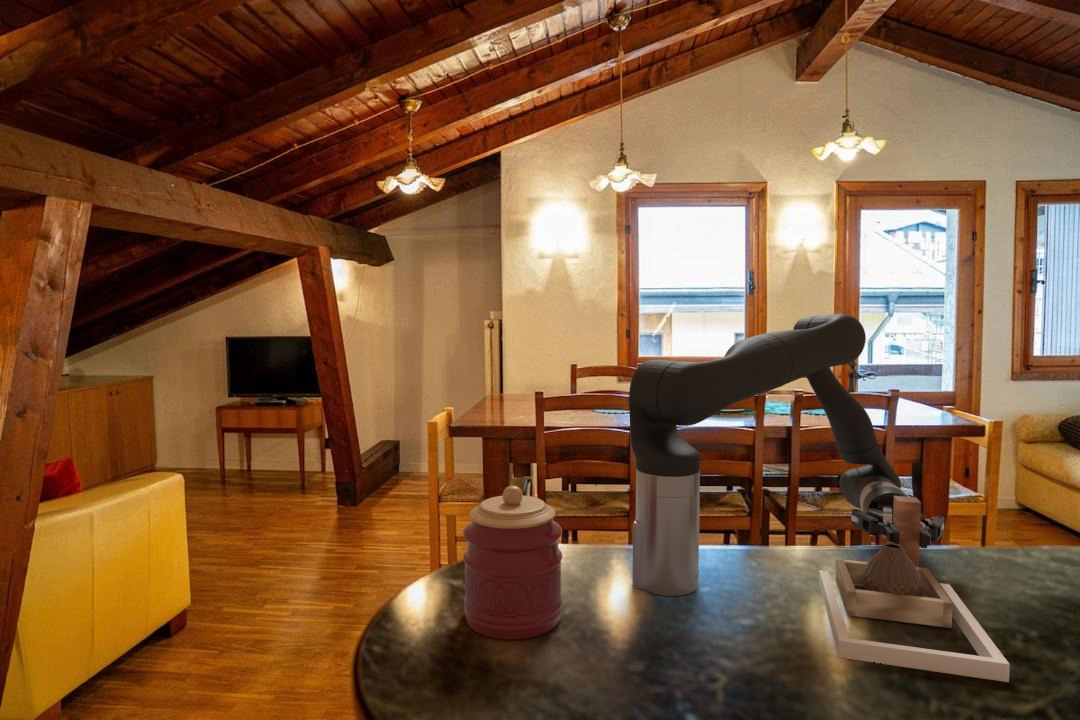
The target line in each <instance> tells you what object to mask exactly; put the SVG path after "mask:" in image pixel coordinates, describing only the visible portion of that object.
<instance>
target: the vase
mask: <svg viewBox="0 0 1080 720" xmlns="http://www.w3.org/2000/svg"><path fill="white" fill-rule="evenodd" d="M867 562H868V563H867V565H866V567H865V571H864V575H863V585H862V586H863V588H864V589H863V590H867V591H876V592H884V593H892V594H900V595H911V596H919V597H922V593H921V589H922V585H921V579H920V575H919V572H918V570H917V568H916V567H915V565H914V564H913V562H912V561H911V560H910V559H909V557H908V556H907V554H906V553H905V550H904V548H903V547H902V546H901V545H899V544H895V543H892V542H885V543H883V544H881V547H880V549H879V550H877V552H876V553H875V554H874V555H873V556H871V558H870V559H869V560H868V561H867Z"/></svg>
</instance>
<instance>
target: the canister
mask: <svg viewBox="0 0 1080 720" xmlns="http://www.w3.org/2000/svg"><path fill="white" fill-rule="evenodd" d="M556 513H557V512H556V510H555V508H553V507H552V506H551V505H549V504H547V503H545V501H544V500H542V499H540V498H538V497H536V496H532V495H531V496H529V495H524V494H523V491H522V489H521V488H520V487H518V486H517V485H509V486H507V487H506V488H504V490H503V493H502V495H498V496H492V497H490V498H486V499H484V500H483V501H481V502H480V504H478V505H477V506H475V507H474V508H472V509H471V510H470V511H469V518H470V520H471V521H470V522H469V523H468V524H467V525H466V526H465V527H464V528H463V531H462V535H463V538H464V539H465V541H466V543H467V544H466V546H467V547H466V550H465V552H464V553H463V559H462V560H463V562H464V599H463V612H464V616H465V621H466V624H467V625H468V626H469V628H470V629H472V630H473V631H474V632H476V633H477V634H480V635H483V636H485V637H488V638H491V639H492V638H493V639H500V640H523V639H528V638H533V637H537V636H540V635H543V634H546V633H548V632H550V631H551V630H552V629H554V628H555V627H556V626H557V625H558V623H559V622H560V620H561V613H562V611H563V610H562V609H563V597H562V579H561V578H562V559H563V552H562V551H561V549H560V548H559V539H560V538H561V536H562V534H563V529H562V527H561V526H560V524H559V523H558V522H556V521H554V519H555V517H556Z"/></svg>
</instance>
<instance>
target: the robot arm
mask: <svg viewBox="0 0 1080 720" xmlns="http://www.w3.org/2000/svg"><path fill="white" fill-rule="evenodd" d="M866 340H867V337H866V331H865V328H864V326H863V325H862V322H860V321H859V320H858V319H857V318H855V317H854V316H852V315H850V314H845V313H836V314H835V313H832V314H831V313H830V314H822V315H811V316H806V317H805V316H804V317H802V318H800V319H799V320H797V321H796V322H795V323H794V326H793V327H792V329H789V330H788V329H787V330H777V331H771V332H770V331H769V332H765V333H760V334H756V335H753V336H751V337H746V338H744V339H742V340H741V339H740V340H739V341H737V342H735V343H734V344H732V345H731V346H730V347H729V348H728V350H727V351H726V352H725V354H724V357H721V358H717V359H712V360H706V361H682V360H678V361H677V360H666V359H649V360H646V361H643V362H642V363H640V364H639V365H638V366H637V368H636V369H635V370H634V372H633V374H632V376H631V380H630V384H629V390H628V391H629V393H628V409H629V411H628V412H629V430H630V445H631V449H632V453H633V455H634V457H635V519H634V521H633V523H632V583H631V585H632V587H633V588H638V589H642V590H643V591H645V592H649V593H651V594H654V595H660V596H672V597H675V596H684V595H688V594H692V593H694V592H696V590H697V589H698V588H699V576H700V570H699V567H700V565H699V563H700V562H699V560H700V552H699V551H700V498H701V497H700V491H701V487H700V486H701V485H700V483H701V481H700V480H701V478H700V477H701V471H700V470H701V467H700V466H701V458H700V457H701V456H700V453H699V451H698V450H697V449H696V448H695V447H693V446H692V445H691V444H689V443H688V441H686V440H685V439H684V438H683V437H682V435H681V434H680V433H679V431H678V428H677V426H678V427H679V426H681V427H688V426H690V427H691V426H693V425H696V424H699V423H701V422H703V421H705V420H707V419H709V418H711V417H713V416H715V414H718V413H720V412H721V411H723V410H724V409H726V408H728V407H730V406H733V404H735V403H738V402H741V401H745V400H748V399H750V398H754V397H755V396H758V395H761V394H765V393H768V392H770V391H773V390H775V389H778V388H781V387H783V386H785V385H787V384H790V383H792V382H795V381H797V380H800V379H802V378H805V377H806V379H807V381H808V383H809V385H810V387H811V388H812V390H813V392H814V395H816V398H817V400H818V401H819V403H820V405H821V407H822V408H823V411H824V413H825V416H826V418H827V420H828V423H829V425H830V428H831V432H832V434H833V438H834V440H835V444H836V447H837V450H838V453H839V455H840V457H841V459H842V460H843V461H844V462H845V463H848V464H849V465H850V464H851V465H863V466H859V467H855V468H851V469H848V470H845V471H844V472H843V473H842V474H841V475H840V477H839V484H838V485H839V488H840V492H841V494H842V496H843V497H844V499H845V500H846V501H847V502H848V503H849V504H850V505H852V506H853V507H855V508H854V509H853V508H852V509H851V516H850V517H851V521H850V522H851V523H850V525H851V526H853V527H855V528H856V529H858V530H860V531H862V532H864V533H865V534H868V535H870V536H871V537H877V536H878V535H882V537H883V538H885V540H886V541H887V542H888V543H895V544H899V538H900V533H899V530H898V529H897V528H896V526H895V525H894V524H893V505H894V496H904V497H909V496H908V495H907V494H906V493H905V492H904V491H903V490H902V483H901V479H900V477H899V474H898V473H897V472H896V470H895V469H894V468H893V466H892V465H891V464H890V462H889V461H888V460H887V458H886V456H885V455H884V454H883V451H882V449H881V447H880V445H879V442H878V440H877V436H876V432H875V428H874V426H873V423H872V420H871V418H870V416H869V414H868V412H867V411H866V410H865V408H864V407H863V406H862V405H861V403H860V402H859V401H858V400H857V399H856V398H855V397H854V396H853V395H852V394H851V393H850V392H849V391H848V390H847V389H846V388H845V387H844V386H843V384H842V383H841V382H840V381H839V380H838V379H837V376H835V374H834V372H833V370H832V368H833V367H838V366H844V365H849V364H852V363H853V362H855V361H856V360H857V359H858V358H859V357H860V356H861V354H862V352H863V350H864V348H865V345H866ZM859 509H860V510H859ZM944 532H945V517H944V516H942V515H935V516H934V517H933V516H932V517H930V518H926V516H925V515H924V514H923V513H921V521H920V540H919V546H920V548H921V549H927V548H928V546H931V545H932V543H931V542H933V543H935V542H938V541H939V540H940V538H941V537H942V536H943V534H944Z"/></svg>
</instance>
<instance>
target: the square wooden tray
mask: <svg viewBox="0 0 1080 720" xmlns="http://www.w3.org/2000/svg"><path fill="white" fill-rule="evenodd" d="M921 514H922V502H921V501H920V500H919V498H917V497H915V496H908V497H904V496H894V505H893V524H894V525H895V526H896V528H897V529H898V530H899V533H900V538H899V545H901V546H902V547H903V548H904V550H905V553H906V554H907V556H908V557H909V559H910V560H911V561H912V562H913V564H914V565H915V567H916V568H917V570H918V572H919V575H920V579H921V585H922V589H921V597H919V596H911V595H900V594H892V593H884V592H876V591H867V590H864V589H859V588H858V589H856V588H855V585H857V586H858V585H859V586H864V585H863V575H864V571H865V567H866V565H867V563H868V561H862V560H861V561H860V560H852V559H842V558H835V583H836V585H837V588H838V592H839V594H840V597H841V600H842V603H843V606H844V609H845V612H846V615H847V616H852V617H853V616H855V617H860V618H861V617H862V618H869V619H877V620H885V621H891V622H892V621H894V622H902V623H908V624H916V625H924V626H925V625H926V626H932V627H941V628H949V629H952V628H953V617H952V611H953V603H952V602H951V600H950V599H949V597H948V596H947V595H946V593H945V592H944V590H943V589H942V588H941V586H940V585H939V582H938V580H937V579H936V578H935V577H934V575H933V574H932V573H931V571H930V570H929V568H928V567H920V548H921V547H920V546H919V540H920V521H921Z"/></svg>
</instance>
